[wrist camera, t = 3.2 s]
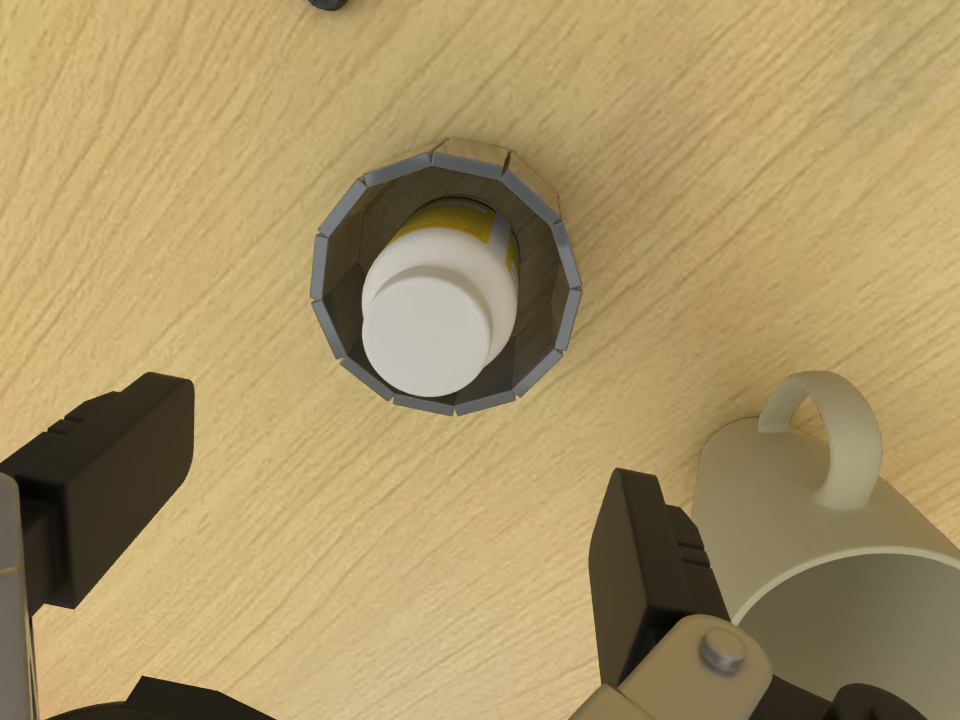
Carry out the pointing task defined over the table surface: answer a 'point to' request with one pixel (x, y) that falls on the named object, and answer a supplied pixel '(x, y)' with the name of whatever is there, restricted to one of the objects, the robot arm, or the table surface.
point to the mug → (830, 552)
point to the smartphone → (328, 4)
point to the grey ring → (343, 279)
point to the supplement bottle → (441, 296)
